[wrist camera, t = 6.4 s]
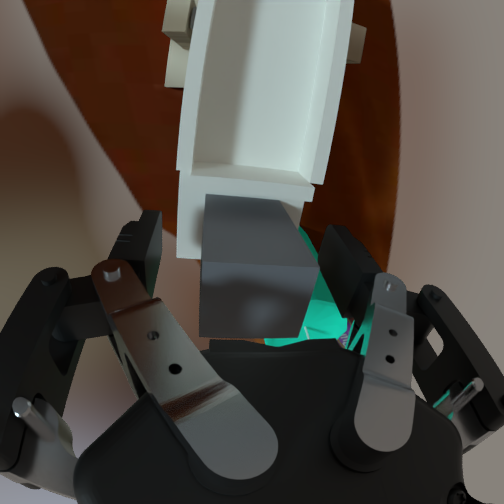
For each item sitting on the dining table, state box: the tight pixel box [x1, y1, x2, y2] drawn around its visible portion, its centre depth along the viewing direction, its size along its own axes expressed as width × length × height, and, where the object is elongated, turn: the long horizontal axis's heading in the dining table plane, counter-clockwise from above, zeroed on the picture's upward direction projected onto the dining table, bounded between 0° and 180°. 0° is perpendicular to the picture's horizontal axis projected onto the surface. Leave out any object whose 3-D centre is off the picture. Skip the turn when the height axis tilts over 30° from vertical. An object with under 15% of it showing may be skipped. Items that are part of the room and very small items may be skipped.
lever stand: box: [162, 0, 367, 88], centre depth 14 cm, size 8×11×10 cm
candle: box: [264, 226, 347, 347], centre depth 23 cm, size 6×6×12 cm
